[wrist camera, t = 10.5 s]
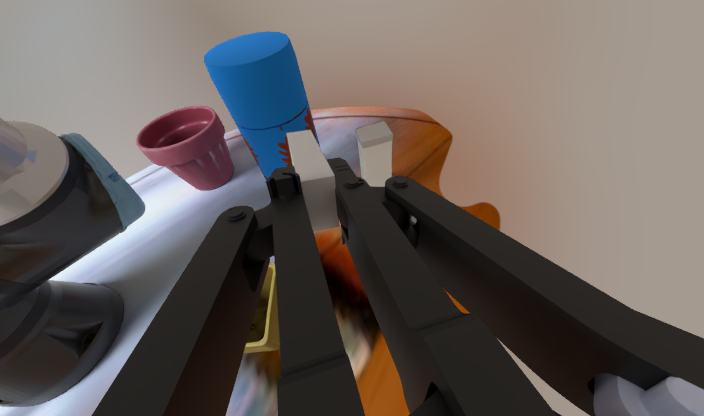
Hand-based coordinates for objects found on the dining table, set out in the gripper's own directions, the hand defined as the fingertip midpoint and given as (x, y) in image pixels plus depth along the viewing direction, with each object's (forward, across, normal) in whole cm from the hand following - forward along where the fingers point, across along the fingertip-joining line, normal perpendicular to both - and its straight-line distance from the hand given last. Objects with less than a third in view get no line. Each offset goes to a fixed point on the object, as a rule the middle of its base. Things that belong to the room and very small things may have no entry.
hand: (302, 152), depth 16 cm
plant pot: (+41, -17, -19) cm, 48 cm away
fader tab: (+18, +13, -17) cm, 28 cm away
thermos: (+29, +1, -19) cm, 34 cm away
